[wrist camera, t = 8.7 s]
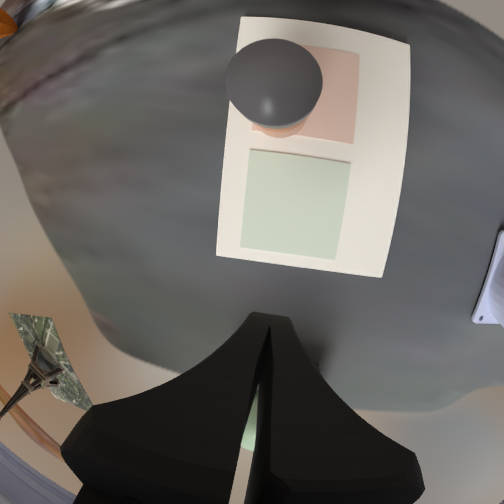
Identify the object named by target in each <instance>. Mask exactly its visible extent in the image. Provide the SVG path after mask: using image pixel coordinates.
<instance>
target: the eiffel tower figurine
mask: <svg viewBox="0 0 504 504" xmlns="http://www.w3.org/2000/svg"><path fill="white" fill-rule="evenodd" d="M9 314H10V316H11V318H12V320H13V322H14V325H15V327H16V329H17V331H18V333H19V335H20V337H21V339H22V341H23V343H24V345H25V348H26V350H27V352H28V354H29V356H30V358H31V360H32V361H31V363H30V364H29V365H28V372H27V374H26V376H25V378H24V380H23V381H21V385H20V387H19V388H18V390H17V391H16V393H15V394H14V395H13V397H12V398H11V399H10V400H9V402H8V403H7V404H6V405H5V407H4V408H3V409H2V411H1V412H0V419H1V418H2V417H3V416H4V415H5V414H6V413H7V412H8V411H9V410H10V409H11V408H12V407H13V406H14V405H15V404H16V403H17V402H19V401H20V400H21V399H22V398H23V397H25V396H26V395H27V394H30V393H31V392H32V391H35V390H37V389H39V388H41V389H44V388H45V387H48V388H49V390H50V391H51V393H52V394H53V396H54V397H55V398H57V399H59V400H62V401H64V402H66V403H69V404H72V405H74V406H76V407H79V408H81V409H83V410H86V411H88V410H89V409H90V408H91V407H92V406H93V405H92V403H91V401H90V399H89V397H88V395H87V394H86V392H85V390H84V389H83V387H82V385H81V383H80V381H79V380H78V378H77V376H76V374H75V372H74V370H73V368H72V366H71V364H70V362H69V360H68V358H67V355H66V353H65V351H64V349H63V346H62V344H61V341H60V338H59V336H58V333H57V330H56V327H55V325H54V322H53V319H52V318H51V317H43V316H34V315H24V314H13V313H9ZM31 379H33V381H34V382H33V383H31V384H30V383H29V382H30V381H31Z"/></svg>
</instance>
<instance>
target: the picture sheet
mask: <svg viewBox="0 0 504 504" xmlns="http://www.w3.org/2000/svg"><path fill="white" fill-rule="evenodd" d="M269 38H277V39H284V40H289V41H292V42H294V43H296V44H299V45H300V46H302V47H304V48H305V49H306V50H307V51H309V52H310V53H311V54H312V55H313V57H314V58H315V59H316V61H317V62H318V64H319V66H320V69H321V72H322V77H323V86H322V91H321V95H320V97H319V99H318V101H317V103H316V105H315V107H314V109H313V111H312V112H311V113H310V115H309V116H308V117H307V119H306V122H305V124H304V126H303V127H302V128H301V130H299V131H298V132H297V133H296V134H294V135H292V136H289V137H286V138H275V137H271V136H268V135H266V134H265V133H263V132H262V131H261V130H260V129H259V128H258V127H257V126H256V125H255V124H254V123H252V122H251V121H249V120H248V119H247V118H246V117H244V116H243V115H242V114H241V113H240V112H239V111H238V110H237V109H236V108H235V106H234V105H233V104H232V102H231V101H230V105H229V114H228V123H227V132H226V142H225V152H224V162H223V173H222V184H221V196H220V208H219V221H218V235H217V250H216V255H217V256H224V257H231V258H238V259H245V260H252V261H259V262H267V263H274V264H281V265H288V266H296V267H303V268H311V269H318V270H326V271H333V272H341V273H348V274H356V275H364V276H371V277H379V278H382V275H383V271H384V267H385V263H386V259H387V255H388V251H389V247H390V243H391V238H392V233H393V229H394V224H395V219H396V214H397V208H398V203H399V197H400V191H401V185H402V178H403V171H404V163H405V155H406V146H407V135H408V123H409V106H410V45H408V44H405V43H402V42H399V41H396V40H393V39H389V38H386V37H383V36H379V35H375V34H372V33H368V32H364V31H359V30H355V29H351V28H346V27H341V26H336V25H330V24H324V23H318V22H311V21H303V20H294V19H283V18H268V17H241V22H240V29H239V35H238V42H237V50H236V53H237V52H238V51H240V50H241V49H242V48H243V47H245V46H247V45H248V44H250V43H253V42H255V41H258V40H262V39H269Z"/></svg>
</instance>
